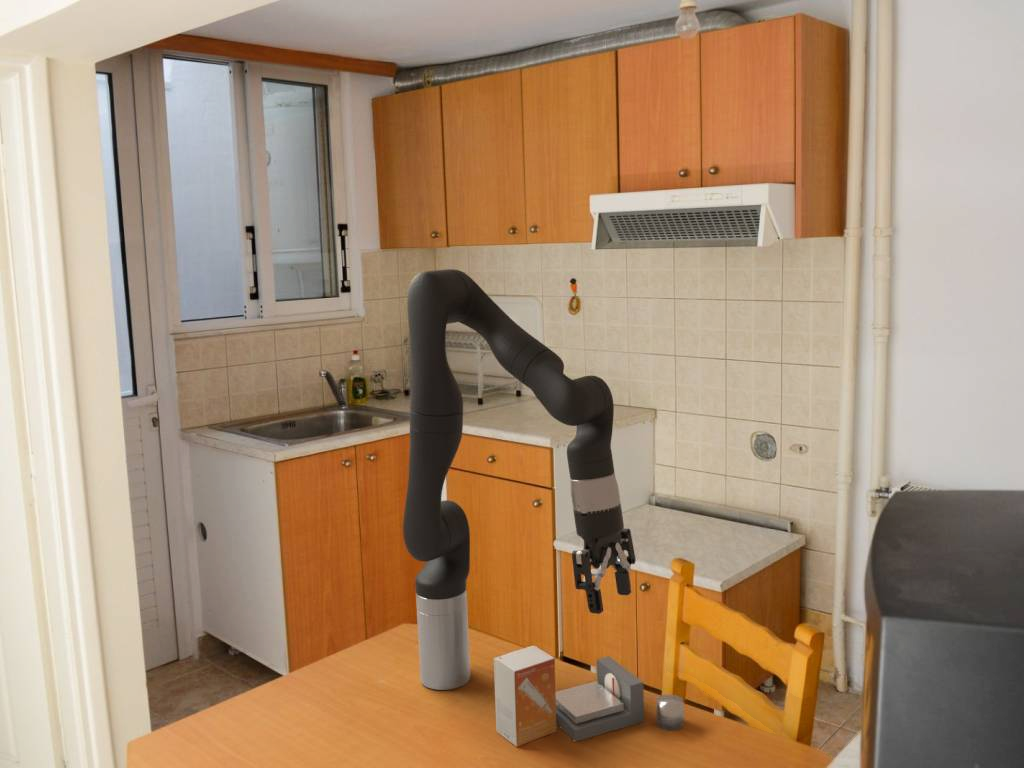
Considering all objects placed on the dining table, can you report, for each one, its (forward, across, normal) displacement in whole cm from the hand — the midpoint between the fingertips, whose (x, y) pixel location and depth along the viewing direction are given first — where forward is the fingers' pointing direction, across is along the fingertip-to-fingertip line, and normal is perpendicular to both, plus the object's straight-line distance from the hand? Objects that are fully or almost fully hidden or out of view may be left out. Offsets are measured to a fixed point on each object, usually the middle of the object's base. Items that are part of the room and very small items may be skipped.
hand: (610, 603), depth 149 cm
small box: (+21, +7, -15) cm, 27 cm away
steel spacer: (+23, -8, +3) cm, 24 cm away
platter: (+19, -2, -9) cm, 21 cm away
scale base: (+21, -3, -9) cm, 23 cm away
